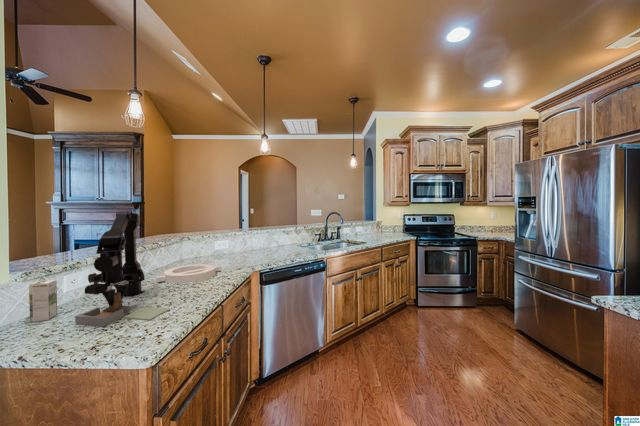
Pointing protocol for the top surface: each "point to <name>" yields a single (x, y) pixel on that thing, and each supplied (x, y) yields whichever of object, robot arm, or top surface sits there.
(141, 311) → the mat
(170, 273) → the white circle with bar
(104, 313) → the tile
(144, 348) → the top surface
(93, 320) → the bay
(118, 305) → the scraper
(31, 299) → the syrup box
